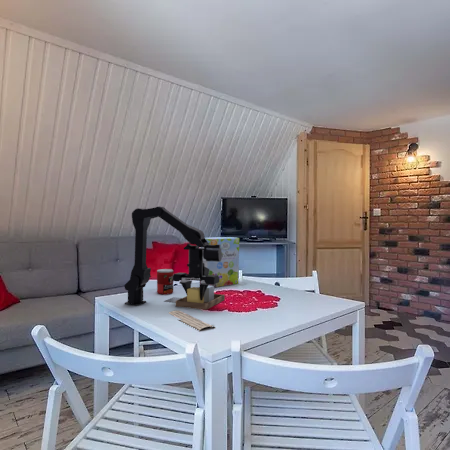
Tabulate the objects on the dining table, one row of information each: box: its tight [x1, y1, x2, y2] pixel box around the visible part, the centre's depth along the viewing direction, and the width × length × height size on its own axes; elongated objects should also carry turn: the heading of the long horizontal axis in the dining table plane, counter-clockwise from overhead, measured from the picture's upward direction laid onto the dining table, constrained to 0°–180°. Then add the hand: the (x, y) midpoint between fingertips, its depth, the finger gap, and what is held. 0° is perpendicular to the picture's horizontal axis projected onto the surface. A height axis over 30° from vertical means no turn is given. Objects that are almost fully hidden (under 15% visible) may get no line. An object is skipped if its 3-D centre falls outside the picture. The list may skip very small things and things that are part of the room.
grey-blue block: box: [204, 285, 215, 302], centre depth 151 cm, size 5×5×6 cm
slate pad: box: [163, 296, 182, 304], centre depth 151 cm, size 8×8×1 cm
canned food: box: [156, 268, 174, 295], centre depth 169 cm, size 8×8×11 cm
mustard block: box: [186, 286, 204, 303], centre depth 142 cm, size 5×5×6 cm
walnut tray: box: [175, 293, 226, 311], centre depth 147 cm, size 18×14×3 cm
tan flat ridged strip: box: [168, 310, 215, 332], centre depth 123 cm, size 24×7×2 cm, turn 35°
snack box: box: [199, 236, 240, 288], centre depth 189 cm, size 22×9×26 cm, turn 132°
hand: (195, 299), depth 142 cm, fingers closed on mustard block, 5 cm apart
